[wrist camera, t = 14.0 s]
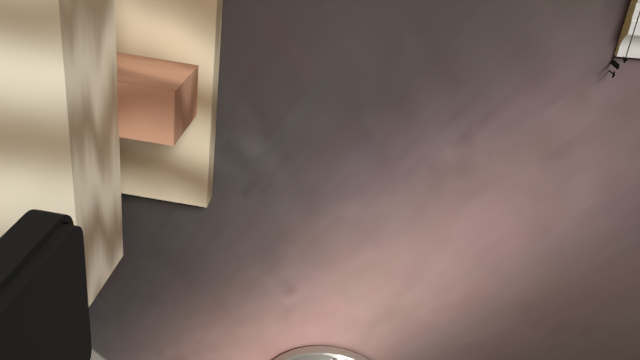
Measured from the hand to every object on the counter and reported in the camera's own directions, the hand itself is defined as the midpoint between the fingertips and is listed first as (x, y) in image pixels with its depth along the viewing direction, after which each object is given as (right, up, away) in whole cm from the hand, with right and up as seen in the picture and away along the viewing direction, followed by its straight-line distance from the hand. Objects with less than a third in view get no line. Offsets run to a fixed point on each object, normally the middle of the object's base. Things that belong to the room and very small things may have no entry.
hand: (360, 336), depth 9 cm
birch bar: (-15, +7, +25) cm, 30 cm away
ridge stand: (-14, +10, +31) cm, 35 cm away
